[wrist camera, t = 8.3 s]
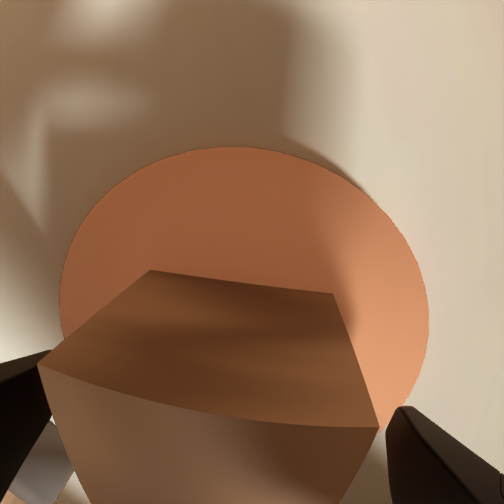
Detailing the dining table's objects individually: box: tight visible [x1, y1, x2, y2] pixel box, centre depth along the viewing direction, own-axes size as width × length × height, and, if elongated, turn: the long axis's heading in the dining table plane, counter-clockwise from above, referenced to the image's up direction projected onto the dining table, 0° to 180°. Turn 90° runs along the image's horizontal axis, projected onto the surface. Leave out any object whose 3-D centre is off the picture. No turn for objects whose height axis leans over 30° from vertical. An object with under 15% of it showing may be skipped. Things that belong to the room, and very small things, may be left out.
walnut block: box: [37, 270, 380, 504], centre depth 7 cm, size 5×5×5 cm
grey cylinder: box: [8, 421, 74, 504], centre depth 11 cm, size 4×4×4 cm
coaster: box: [59, 147, 429, 433], centre depth 10 cm, size 12×12×1 cm
